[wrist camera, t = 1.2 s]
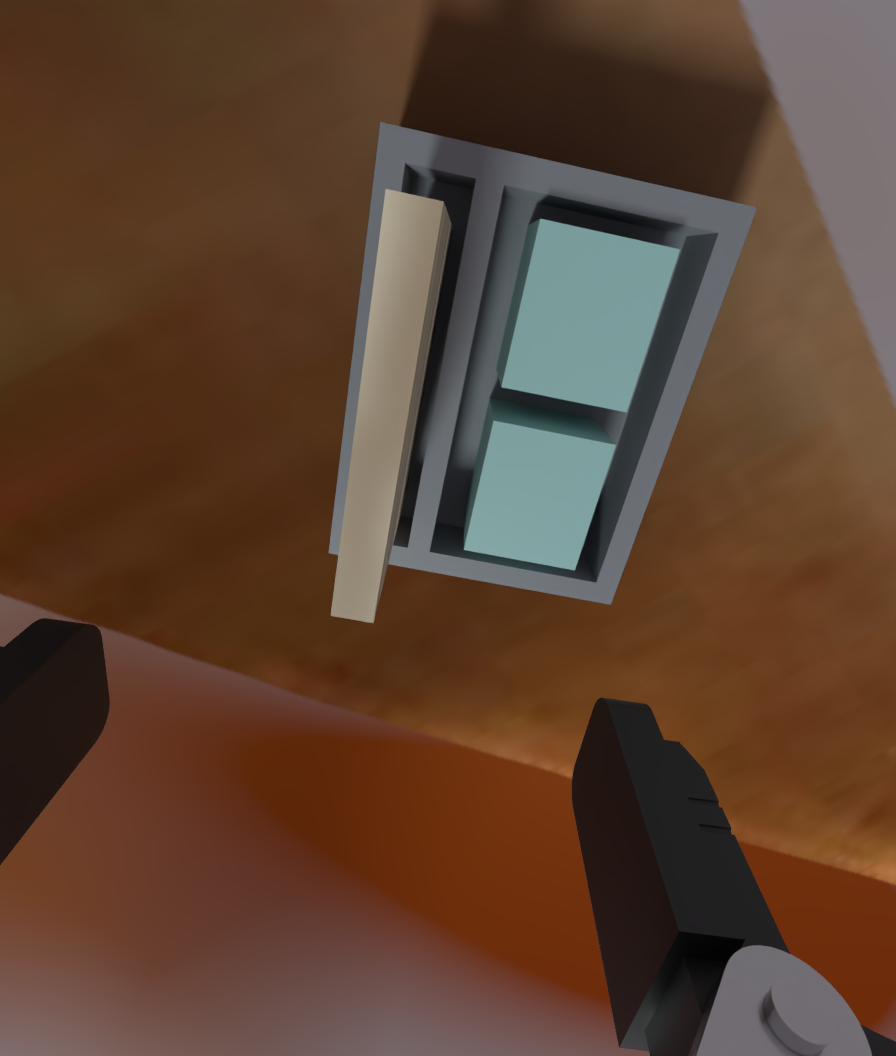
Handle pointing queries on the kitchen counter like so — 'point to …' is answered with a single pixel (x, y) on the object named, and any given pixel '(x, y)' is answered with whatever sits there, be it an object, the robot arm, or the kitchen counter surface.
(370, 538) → the birch sheet
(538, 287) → the offcut
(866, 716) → the kitchen counter surface
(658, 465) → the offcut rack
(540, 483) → the offcut
